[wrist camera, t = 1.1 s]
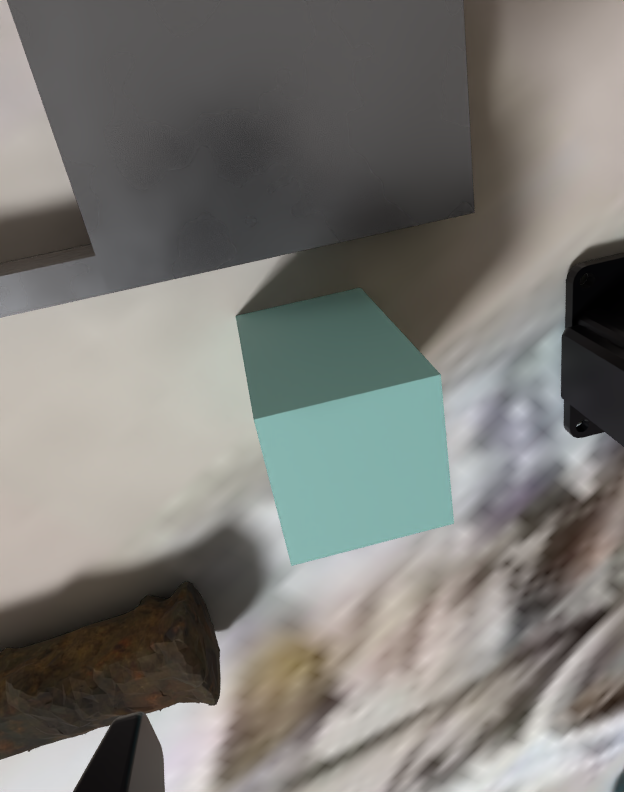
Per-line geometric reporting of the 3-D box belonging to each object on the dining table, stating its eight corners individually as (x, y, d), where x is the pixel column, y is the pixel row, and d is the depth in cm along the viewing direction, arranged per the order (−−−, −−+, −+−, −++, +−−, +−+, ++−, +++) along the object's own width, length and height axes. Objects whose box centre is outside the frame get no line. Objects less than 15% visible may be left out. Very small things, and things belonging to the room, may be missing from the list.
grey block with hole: (422, -137, 14) (454, -173, 13) (447, 202, 18) (474, 212, 16) (-458, 19, 13) (-563, 4, 11) (-240, 353, 16) (-292, 382, 15)
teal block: (360, 287, 19) (440, 374, 12) (376, 398, 20) (453, 523, 14) (235, 315, 18) (253, 419, 12) (263, 426, 20) (291, 565, 14)
